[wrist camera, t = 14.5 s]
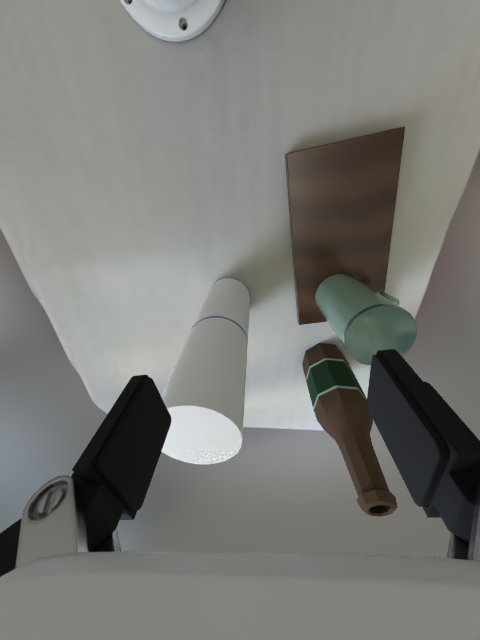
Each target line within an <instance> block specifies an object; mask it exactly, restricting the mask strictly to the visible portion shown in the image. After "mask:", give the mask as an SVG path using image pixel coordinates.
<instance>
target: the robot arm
mask: <svg viewBox="0 0 480 640" xmlns="http://www.w3.org/2000/svg"><path fill="white" fill-rule="evenodd" d="M120 1H121V3H122V4H123V6H124V7H125V9H126V10H127V12H128V13H129V14H130V15H131V17H132V18H133V19H134V20H135V21H136V22H137V23H138V24H139V25H140V26H141V27H142V28H143V29H144V30H145V31H147V32H148V33H150V34H152V35H153V36H155V37H157V38H159V39H162V40H166V41H171V42H181V41H185V40H190V39H192V38H194V37H196V36H197V35H199V34H201V33H202V32H203V31H204V30H205V29H206V28H207V27H209V26H210V25H211V23H212V22H213V21H214V19H215V18H216V16H217V15H218V14H219V12H220V10H221V8H222V6H223V4H224V2H225V0H132V3H131V4H130V1H131V0H120ZM184 26H187V29H186V30H183V28H184ZM367 406H368V409H369V412H370V414H371V416H372V418H373V420H374V422H375V424H376V426H377V428H378V430H379V432H380V434H381V436H382V438H383V440H384V442H385V444H386V446H387V448H388V450H389V452H390V454H391V455H392V458H393V460H394V462H395V464H396V466H397V468H398V470H399V472H400V474H401V476H402V478H403V480H404V482H405V484H406V486H407V488H408V490H409V492H410V494H411V496H412V498H413V500H414V502H415V503H416V504H417V505H418V506H422V507H423V509H424V511H425V513H426V515H427V517H441V518H442V520H443V521H444V523H445V525H446V527H447V529H448V530H449V531H450V532H451V535H450V540H449V547H448V552H447V558H440V557H438V558H437V557H414V556H389V555H388V556H387V555H347V554H294V553H222V552H121V548H120V544H119V538H118V533H117V528H116V527H117V525H118V522H119V520H133V519H134V518H135V515H136V512H137V510H139V509H140V508H141V506H142V504H143V502H144V499H145V496H146V493H147V490H148V487H149V485H150V482H151V479H152V476H153V473H154V471H155V467H156V465H157V462H158V459H159V457H160V454H161V451H162V448H163V445H164V443H165V440H166V437H167V434H168V431H169V428H170V426H171V416H170V414H169V412H168V410H167V408H166V406H165V404H164V402H163V399H162V397H161V395H160V393H159V391H158V389H157V387H156V385H155V383H154V381H153V380H152V378H149V377H148V376H147V375H139V376H133V377H132V378H131V379H130V381H129V382H128V384H127V385H126V387H125V388H124V390H123V392H122V393H121V395H120V396H119V398H118V399H117V401H116V402H115V404H114V406H113V407H112V409H111V410H110V412H109V413H108V415H107V416H106V418H105V419H104V421H103V423H102V424H101V426H100V427H99V429H98V430H97V432H96V434H95V435H94V436H93V438H92V440H91V441H90V443H89V444H88V446H87V447H86V449H85V450H84V452H83V454H82V455H81V457H80V458H79V460H78V461H77V463H76V464H75V466H74V467H73V469H72V470H73V471H74V473H73V474H72V476H71V477H70V476H66V475H62V476H58V477H56V478H54V479H52V480H50V481H48V482H47V483H46V484H44V485H43V486H42V487H41V488H40V489H39V490H38V491H37V492H36V493H34V495H33V496H32V497H31V499H30V500H29V501H28V503H27V505H26V507H25V509H24V511H23V514H22V518H21V519H20V520H18V521H17V522H15V523H14V524H13V525H11V526H10V527H9V528H7V529H6V530H4V531H3V532H2V533H1V534H0V640H480V441H479V440H478V438H477V437H476V436H475V435H474V434H473V433H472V431H471V430H470V429H469V428H468V427H467V426H466V425H465V423H464V422H463V421H462V420H461V419H460V418H459V417H458V415H457V414H456V413H455V412H454V411H453V410H452V409H451V408H450V406H449V405H448V404H447V403H446V402H445V401H444V400H443V398H442V397H441V396H440V395H439V394H438V393H437V391H436V390H435V389H434V388H433V387H432V386H431V385H430V384H429V383H427V382H423V381H422V380H421V379H420V378H419V376H418V375H417V374H416V373H415V372H414V370H413V369H412V368H411V367H410V366H409V364H408V363H407V362H406V361H405V360H404V359H403V357H402V356H401V355H400V354H399V353H398V351H397V350H395V349H389V350H379V351H377V353H376V355H373V356H372V361H371V370H370V379H369V388H368V397H367Z"/></svg>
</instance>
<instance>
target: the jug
mask: <svg viewBox="0 0 480 640" xmlns="http://www.w3.org/2000/svg"><path fill="white" fill-rule="evenodd" d="M315 299H316V304H317V306H318V308H319V309H320V311H321V312H322V314H323V315H324V317H325V318H326V320H327V321H328V323H329V324H330V326H331V327H332V329H333V330H334V332H335V333H336V335H337V336H338V338H339V339H340V341H341V342H342V344H343V346H344V347H345V349H346V350H347V352H348V353H349V355H350V356H351V357H352V358H353V359H355V360H356V361H358V362H360V363H362V364H366V365H371V361H372V356H373V355H376V353H377V351H379V350H389V349H395V350H397V351H398V353H399V354H400V355H401V356H403V355H404V354H405V353H406V352H407V351H408V350H409V349H410V348H411V346H412V345H413V342H414V341H415V338H416V334H417V328H416V323H415V320H414V318H413V317H412V316H411V314H410V313H409V312H407V311H406V310H404V309H403V308H401V307H399V306H398V305H399V300H398V299H396V298H394V297H392V296H391V295H389V294H387V293H385V292H384V291H379V292H375V291H374V290H372V289H371V288H369V287H367V286H366V285H364V284H362V283H361V282H359V281H358V280H356V279H354V278H353V277H351V276H349V275H346V274H336V275H332V276H330V277H328V278H326V279H325V280H324V281H323V282H322V283H321V284H320V285H319V287H318V289H317V291H316V296H315Z"/></svg>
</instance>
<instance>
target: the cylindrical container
mask: <svg viewBox="0 0 480 640" xmlns="http://www.w3.org/2000/svg"><path fill="white" fill-rule="evenodd" d="M249 308H250V295H249V292H248V289H247V288H246V286H245V285H244V284H243V283H241V282H240V281H238V280H235V279H231V278H225V279H221V280H218V281H216V282H215V283H214V284H213V285H212V286H211V287H210V289H209V291H208V293H207V295H206V298H205V300H204V302H203V304H202V307H201V309H200V311H199V313H198V315H197V318H196V320H195V322H194V324H193V326H192V329H191V331H190V333H189V335H188V338H187V340H186V342H185V344H184V347H183V349H182V351H181V353H180V356H179V358H178V360H177V362H176V365H175V367H174V369H173V371H172V373H171V376H170V378H169V380H168V382H167V384H166V387H165V389H164V391H163V393H162V395H161V397H162V399H163V402H164V404H165V406H166V408H167V410H168V412H169V414H170V416H171V426H170V428H169V431H168V434H167V437H166V440H165V443H164V445H163V448H162V452H163V453H165V454H167V455H169V456H170V457H172V458H175V459H178V460H180V461H184V462H187V463H193V464H213V463H219V462H222V461H225V460H228V459H229V458H231V457H233V456H234V455H235V454H236V453H237V452H238V451H239V449H240V448H241V445H242V434H243V416H244V398H245V380H246V362H247V344H248V326H249Z"/></svg>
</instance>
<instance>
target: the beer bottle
mask: <svg viewBox="0 0 480 640" xmlns="http://www.w3.org/2000/svg"><path fill="white" fill-rule="evenodd" d="M303 370H304V374H305V378H306V382H307V385H308V389H309V393H310V397H311V401H312V405H313V409H314V412H315V415H316V418H317V420H318V422H319V423H320V425H321V426H322V427H323V429H324V430H325V431H326V432H327V433H328V434H329V435H330V436H332V437H333V438H334V439H335V440H336V442H337V444H338V446H339V448H340V450H341V452H342V455H343V458H344V460H345V463H346V465H347V468H348V470H349V473H350V475H351V478H352V481H353V483H354V486H355V489H356V491H357V494H358V496H359V497H358V499H357V502H358V504H359V506H360V507H361V509H362V510H363V511H364V512H365V513H366V514H367V515H371V516H385V515H389V514H391V513H393V511H395V509H396V508H397V503H396V498H395V496H394V495H393V494H392V493H391V492H390V491H389V489H388V487H387V484H386V481H385V478H384V476H383V473H382V471H381V468H380V465H379V462H378V459H377V457H376V454H375V451H374V449H373V446H372V442H371V438H370V431H371V427H372V423H373V418H372V416H371V414H370V412H369V409H368V406H367V398H366V397H365V395H364V393H363V391H362V389H361V387H360V385H359V383H358V381H357V379H356V377H355V375H354V373H353V371H352V369H351V367H350V366H349V364H348V362H347V360H346V358H345V357H344V355H343V354H342V353H341V352H340V350H339V349H338V348H337V347H336V345H330V344H317V345H316V346H314V347H312V348H311V349H309V350H307V351H306V353H305V357H304V360H303Z"/></svg>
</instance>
